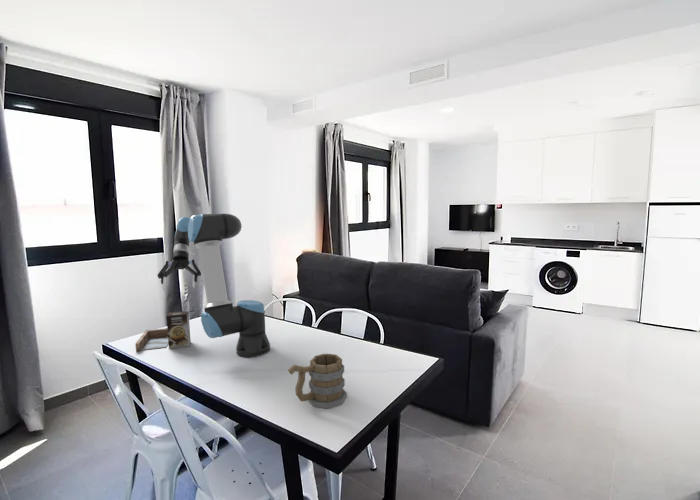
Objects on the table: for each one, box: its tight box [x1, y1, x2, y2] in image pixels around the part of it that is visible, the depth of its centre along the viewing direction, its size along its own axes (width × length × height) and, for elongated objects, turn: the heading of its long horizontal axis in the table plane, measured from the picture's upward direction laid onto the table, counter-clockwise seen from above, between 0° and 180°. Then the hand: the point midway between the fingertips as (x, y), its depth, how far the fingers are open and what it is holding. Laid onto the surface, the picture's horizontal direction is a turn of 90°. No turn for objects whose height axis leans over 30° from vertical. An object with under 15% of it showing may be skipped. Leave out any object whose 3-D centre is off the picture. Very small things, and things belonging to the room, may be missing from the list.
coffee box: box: [166, 310, 192, 350], centre depth 176 cm, size 9×6×16 cm
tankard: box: [287, 353, 348, 410], centre depth 124 cm, size 20×13×15 cm, turn 118°
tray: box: [134, 327, 169, 353], centre depth 181 cm, size 19×12×4 cm
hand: (178, 288), depth 183 cm, fingers open, 13 cm apart
